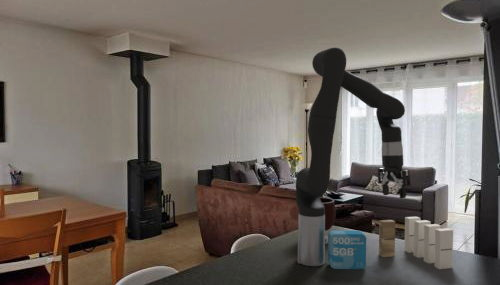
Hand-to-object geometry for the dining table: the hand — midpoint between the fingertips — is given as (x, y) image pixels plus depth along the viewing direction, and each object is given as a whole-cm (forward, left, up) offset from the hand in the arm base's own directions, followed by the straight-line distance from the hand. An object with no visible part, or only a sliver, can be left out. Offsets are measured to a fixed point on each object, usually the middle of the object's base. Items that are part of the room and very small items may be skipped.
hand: (394, 196), depth 142 cm
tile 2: (+7, +2, -21) cm, 22 cm away
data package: (-18, -19, -22) cm, 34 cm away
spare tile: (-3, -5, -21) cm, 22 cm away
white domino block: (+12, -8, -21) cm, 26 cm away
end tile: (+14, -13, -21) cm, 29 cm away
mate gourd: (-29, +9, -22) cm, 37 cm away
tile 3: (+9, -3, -21) cm, 23 cm away
